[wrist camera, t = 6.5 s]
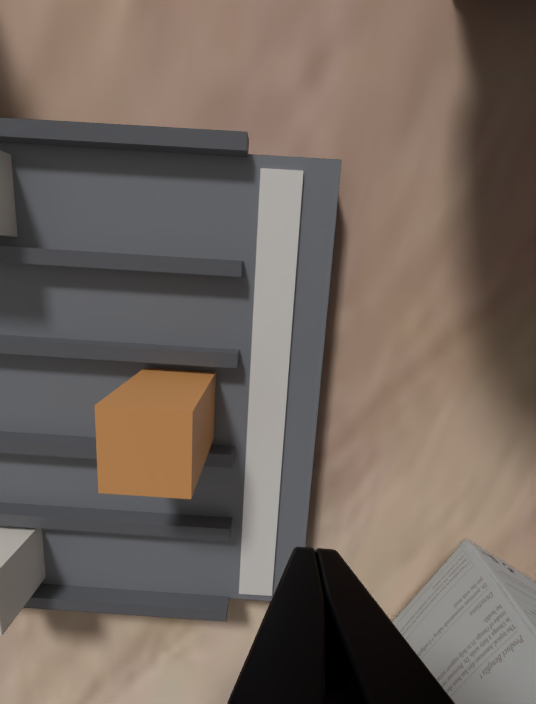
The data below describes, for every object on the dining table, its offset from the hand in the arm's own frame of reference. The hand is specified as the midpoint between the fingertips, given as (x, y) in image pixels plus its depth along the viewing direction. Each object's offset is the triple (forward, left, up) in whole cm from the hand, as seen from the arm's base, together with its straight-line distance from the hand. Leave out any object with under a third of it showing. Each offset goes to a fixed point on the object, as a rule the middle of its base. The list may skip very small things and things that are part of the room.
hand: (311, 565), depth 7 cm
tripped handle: (+5, 0, -9) cm, 10 cm away
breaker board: (+9, 0, -11) cm, 14 cm away
